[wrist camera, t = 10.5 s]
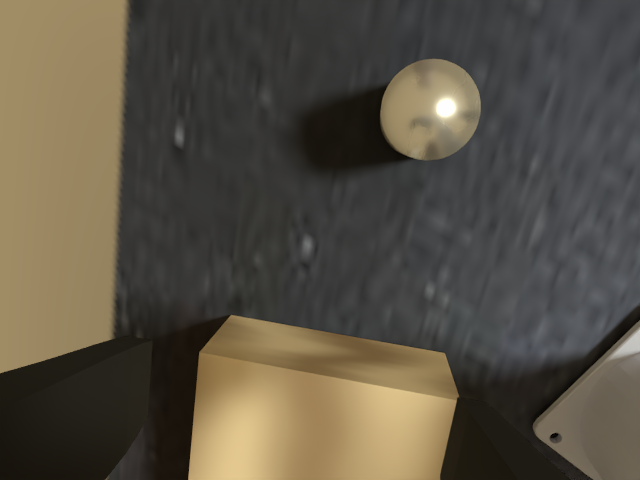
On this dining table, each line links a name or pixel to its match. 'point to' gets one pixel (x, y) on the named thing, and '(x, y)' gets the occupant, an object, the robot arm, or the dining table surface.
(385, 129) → the short pin
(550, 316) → the dining table surface
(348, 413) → the pin block
